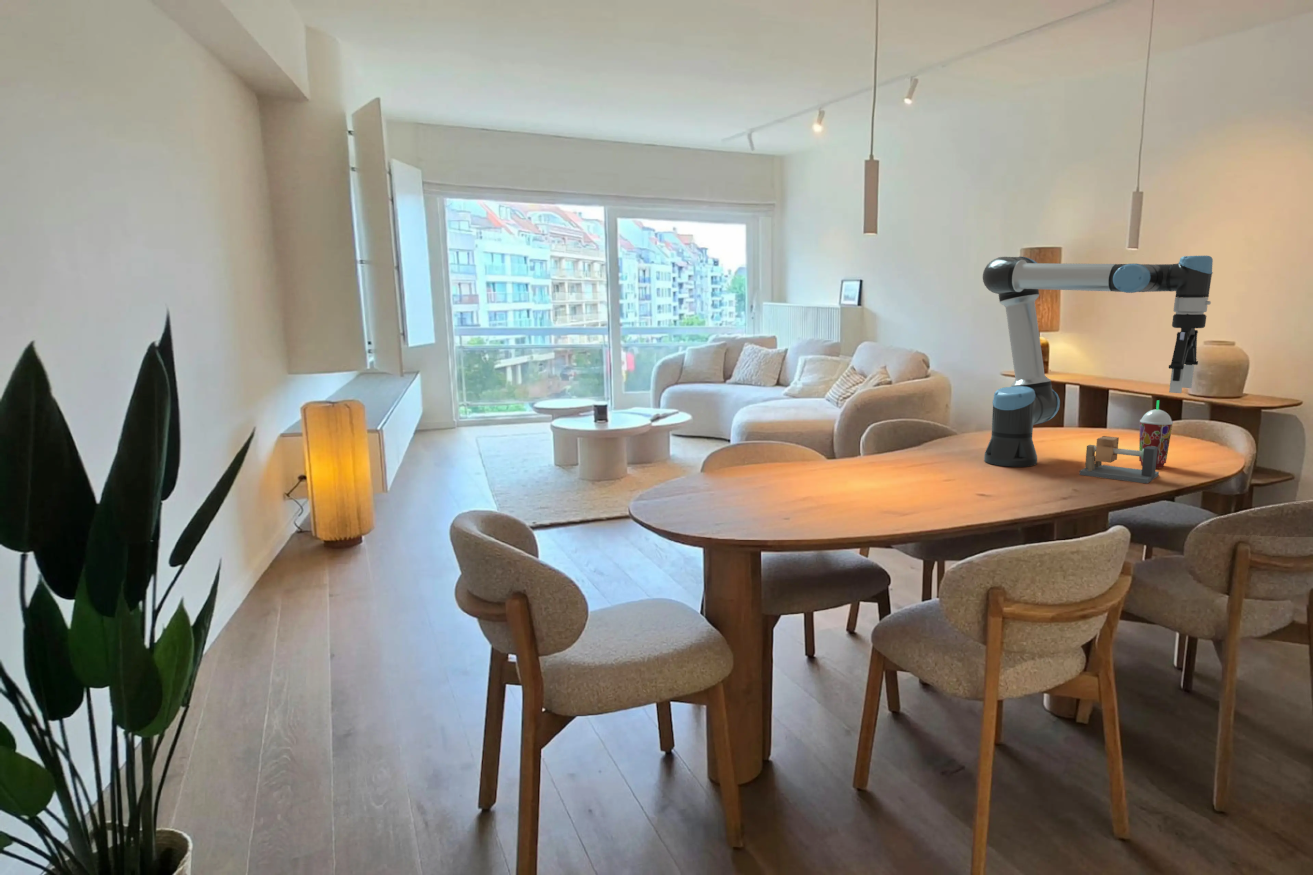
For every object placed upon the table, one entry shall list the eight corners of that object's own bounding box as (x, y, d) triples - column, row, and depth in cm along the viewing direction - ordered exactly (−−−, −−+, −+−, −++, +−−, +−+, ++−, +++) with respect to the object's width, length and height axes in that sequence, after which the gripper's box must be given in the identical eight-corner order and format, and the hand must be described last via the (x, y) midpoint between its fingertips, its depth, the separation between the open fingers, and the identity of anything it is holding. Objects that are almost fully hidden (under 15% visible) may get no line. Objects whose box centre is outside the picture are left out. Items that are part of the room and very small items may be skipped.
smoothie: (1175, 468, 223) (1181, 401, 219) (1146, 469, 223) (1152, 402, 219) (1157, 462, 231) (1163, 398, 227) (1129, 463, 231) (1135, 399, 227)
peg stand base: (1079, 474, 219) (1081, 444, 217) (1092, 467, 227) (1094, 438, 225) (1147, 483, 206) (1150, 451, 205) (1158, 475, 215) (1161, 444, 213)
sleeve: (1095, 460, 218) (1096, 438, 217) (1101, 457, 222) (1103, 436, 221) (1110, 462, 215) (1112, 440, 214) (1116, 459, 219) (1118, 437, 218)
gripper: (1197, 315, 195) (1187, 396, 199) (1214, 312, 212) (1205, 386, 216) (1163, 314, 200) (1154, 393, 204) (1183, 311, 217) (1174, 384, 221)
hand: (1180, 390), depth 210 cm, fingers open, 13 cm apart
